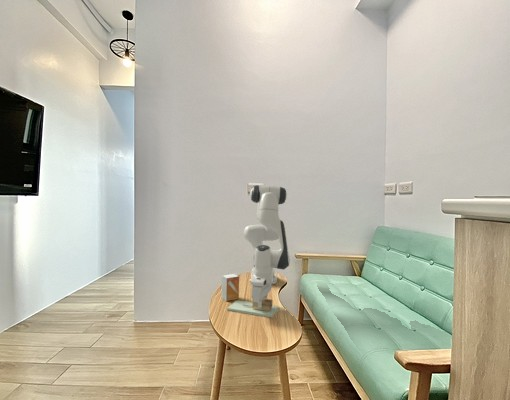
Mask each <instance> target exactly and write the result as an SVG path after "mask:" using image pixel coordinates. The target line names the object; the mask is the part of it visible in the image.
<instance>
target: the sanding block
mask: <svg viewBox="0 0 510 400" xmlns="http://www.w3.org/2000/svg"><path fill="white" fill-rule="evenodd" d="M252 302H253V301H252ZM272 305H273V299H269V298H267V299H262V307H261V308H259V307H258V302H253V309H258V310H265V311H270V310H271V309H272Z"/></svg>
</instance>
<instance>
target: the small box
mask: <svg viewBox="0 0 510 400" xmlns="http://www.w3.org/2000/svg"><path fill="white" fill-rule="evenodd" d="M239 289H240V275H237V274H236V273H230V274H229V273H228V274H225V275H221V299H222V300H223V301H225V302H230V301H236V300H239V299H240V294H239V293H240V290H239Z"/></svg>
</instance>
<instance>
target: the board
mask: <svg viewBox="0 0 510 400" xmlns="http://www.w3.org/2000/svg"><path fill="white" fill-rule="evenodd" d="M278 309H280V306H279V305H273V304H272V309H271V310H270V311H265V310H258V309H253V301H245V300H239V299H236V300H234V302H233V303H232V304H231V305H230V306H227V311H229V312H236V313H242V314H245V315H246V314H248V315H252V314H253V316H254V315H255V316H260V317H265V318H274V316H276V314H275V313H277V312H278V311H279V310H278Z"/></svg>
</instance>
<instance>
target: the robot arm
mask: <svg viewBox="0 0 510 400" xmlns="http://www.w3.org/2000/svg"><path fill="white" fill-rule="evenodd" d="M287 194H288V193H287V190H286V188H284V187H282V186H275V185H257V184H256V185H253V186H252V187H251V189H250V192H249V197H250V200H251V201H252V202H253V203H256V204H257V207H256V218H257V220H258V221H259V222H260V223H259V224H250V225H247V226H245V227H244V230H243V236H244V238H245V240H247V241H248V242H249V243H250V245H251V246H252V248H253V253H254V254H253V268H251V274H250V275H251V278H249V280H248V281H249V282H250V285H251V300H252V302H258V307H259V308H261V307H262V299H268V295H269V294H270V292H271V291H272V287H273V286H272V285H275V284H277V281H278V279H279V277H278V275H275V269H278V270H283V271H284V270H285V269H287V268H288V267H290V263H291V258H290V257H291V256H290V254H289V250H288V242H287V235H286V227H285V223H284V222H283V220H282V219H281V218H280V217H279V205H284V204H285V203H286V200H287V198H288V195H287ZM276 240H278V242H279V249H271V247H270V246H269V245H265V244H263V241H264V242H266V241H268V242H269V241H270V242H271V241H272V242H273V241H276Z"/></svg>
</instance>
